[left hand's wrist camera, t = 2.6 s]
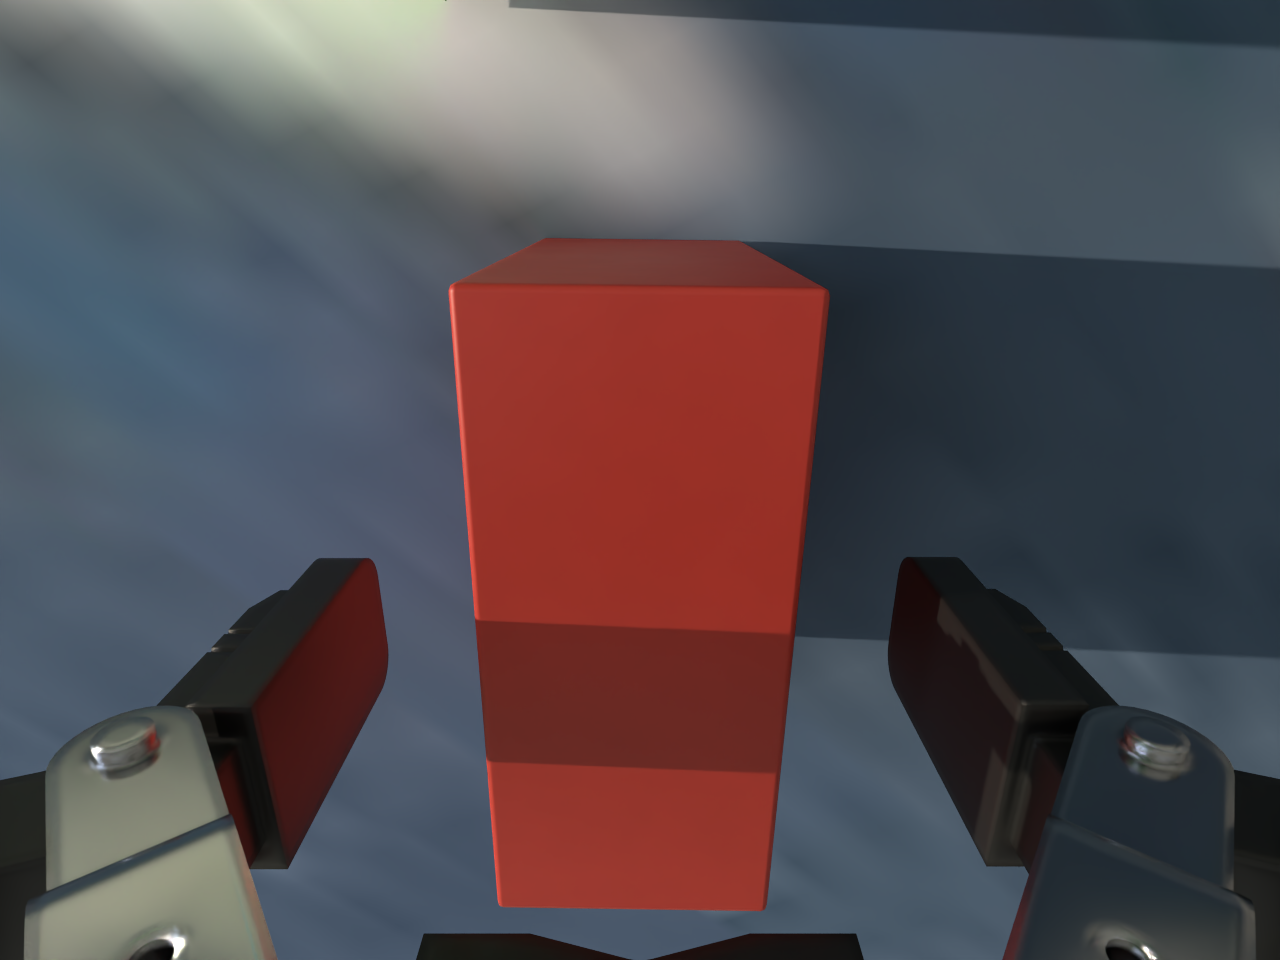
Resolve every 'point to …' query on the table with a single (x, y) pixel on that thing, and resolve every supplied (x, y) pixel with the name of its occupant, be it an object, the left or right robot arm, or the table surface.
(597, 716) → the brick
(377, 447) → the table surface
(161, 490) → the table surface
